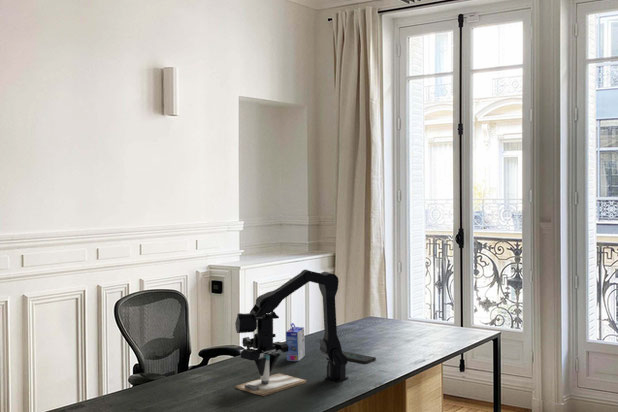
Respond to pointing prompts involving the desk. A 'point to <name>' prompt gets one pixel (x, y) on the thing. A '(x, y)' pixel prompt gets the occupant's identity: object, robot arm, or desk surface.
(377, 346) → the desk surface
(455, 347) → the desk surface
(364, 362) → the smart home device
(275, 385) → the clipboard
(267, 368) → the marker
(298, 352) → the ink cartridge box
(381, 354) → the desk surface
